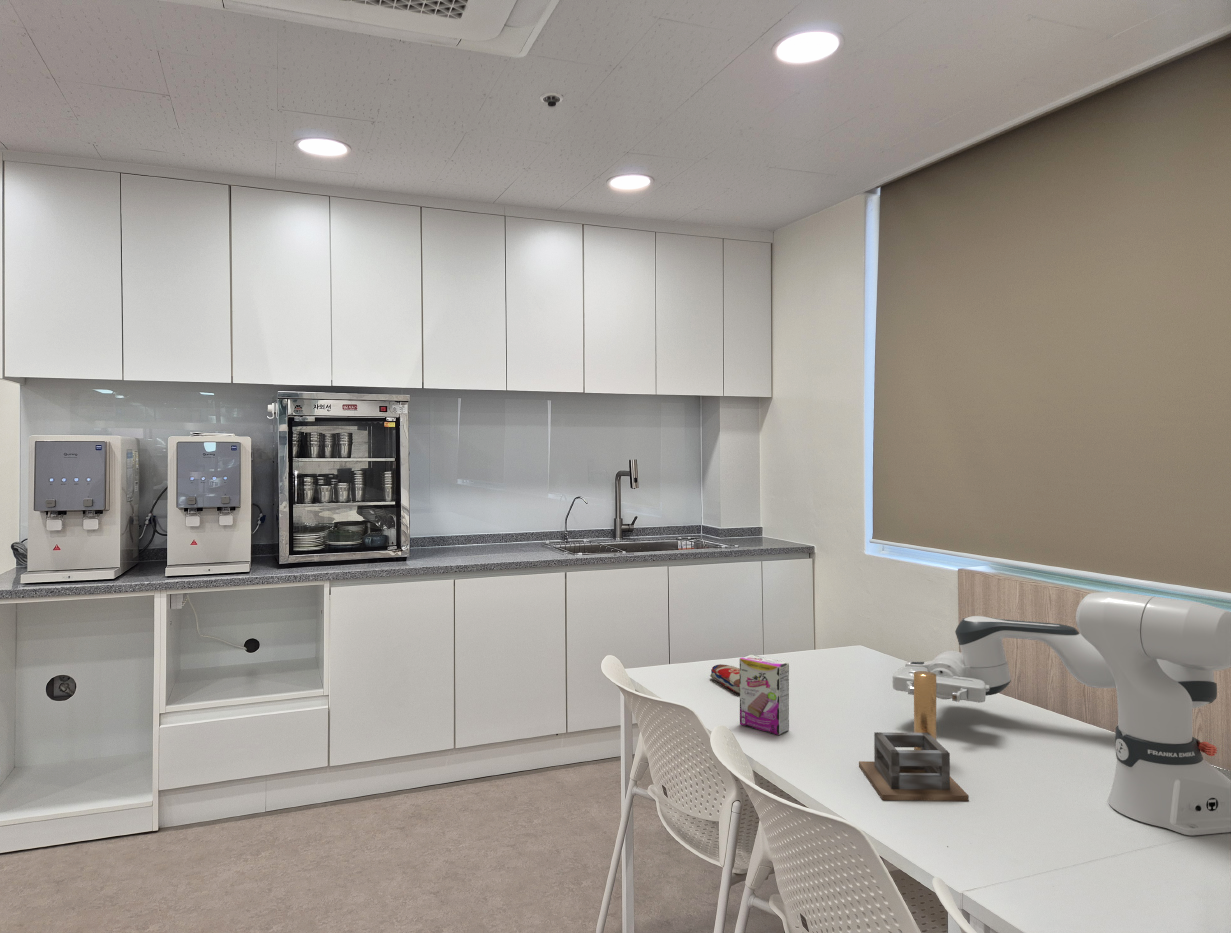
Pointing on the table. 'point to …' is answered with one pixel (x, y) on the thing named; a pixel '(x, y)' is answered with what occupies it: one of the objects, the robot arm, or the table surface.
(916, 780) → the collar stand
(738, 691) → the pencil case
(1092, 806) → the table surface
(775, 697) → the candy bar box
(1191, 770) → the robot arm
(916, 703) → the copper tube
